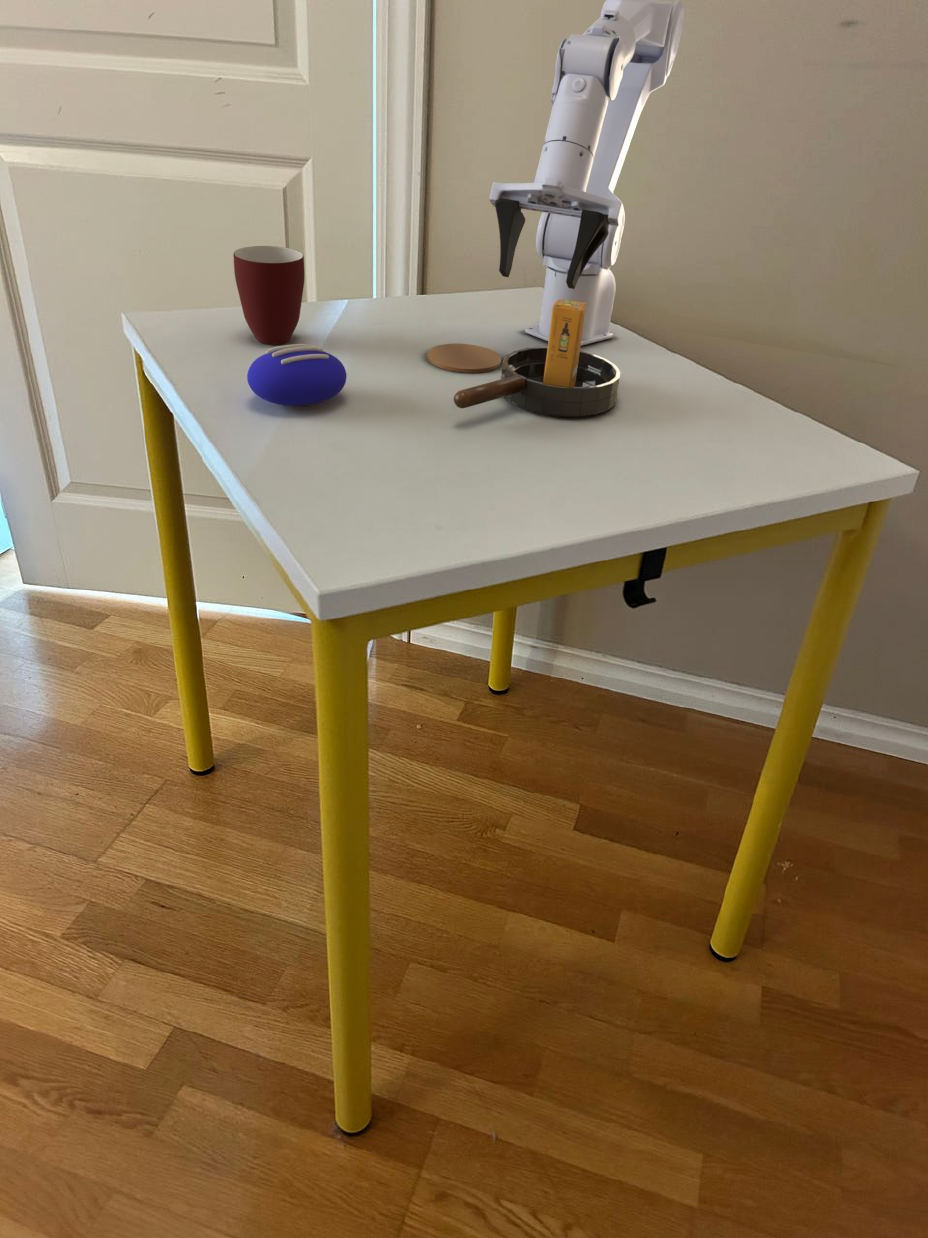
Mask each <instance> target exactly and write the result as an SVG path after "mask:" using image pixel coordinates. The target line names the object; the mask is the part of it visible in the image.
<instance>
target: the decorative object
mask: <svg viewBox="0 0 928 1238" xmlns="http://www.w3.org/2000/svg"><path fill="white" fill-rule="evenodd" d="M347 376H348V375H347V371H346V368H345V366H344V364H343V363H342V362H341V361H340V360H339V358H338V357H336V356H335V355H333V354H331V353H329V352H326V351H324V350H323V348H322V347H320V346H314V345H312V344H308V343H295V344H293V343H292V344H285V345H284V344H283V345H279V346H278V345H276V346H274V347H271V348H268V349H267V350H265V353H264V354H262V355H259V357H257V358H256V359H254V361H253V362H252V363H251V364H250V366H249V367H248V370H247V375H246V379H247V384H248V386H249V388H250V390H251V391H252V393H254V394H255V395H256V396H257V397H259V398H260V399H261V400H264V401H266V402H268V403H271V404H275V405H279V406H289V407H301V406H311V405H316V404H320V403H323V402H326V401H328V400H330V399H333V398H334V397H336V396H337V395H339V394H340V392H341V391H342V390H343V389H344V387H345V385H346V382H347Z"/></svg>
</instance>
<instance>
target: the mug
mask: <svg viewBox="0 0 928 1238" xmlns="http://www.w3.org/2000/svg"><path fill="white" fill-rule="evenodd" d="M232 256H233V272H234V279H235V283H236V288H237V293H238V297H239V300H240V305H241V309H242V313H243V316H244V317H243V318H244V320H245V322H246V324H247V326H248V328H249V329H250V332H251V333H252V334H253V336H254V338H255V340H256V341H257V342H258V343H261V344H264V345H269V346H270V345H271V346H278V345H279V346H280V345H284V344H287V343H289V342H290V340H291V339H292V336H293V334H294V332H295V331H296V328H297V326H298V324H299V321H300V316H301V309H302V303H303V302H302V301H303V296H304V295H303V294H304V287H305V276H306V275H305V274H306V273H305V255H304V253H302V252H301V251H299V250H296V249H293V248H289V247H286V246H285V247H283V246H275V245H252V246H245V247H241V248H238V249H236V250H235V251H234V252H233V255H232Z"/></svg>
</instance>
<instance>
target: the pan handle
mask: <svg viewBox="0 0 928 1238" xmlns="http://www.w3.org/2000/svg"><path fill="white" fill-rule="evenodd" d="M525 386H526V382H525V379H524V378H523V377H522V376H520V375H515V376H512V377H508V378H504V379H501V378H500V379H498V380H494V381H490V382H486V383H482V384H479V385H475V386H471V387H468V388H463V389H460V390H458V391H456V393H455V394H454V396H453V403H454V405H455V406H456V407H457V408H459V409H467V408H470V407H473V406H477V405H480V404H484V403H487V402H491V401H495V400H497V399H501V398H506V397H505V396H509V395H512V394H515V393H519V392H521V391H523V390H524V388H525Z"/></svg>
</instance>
